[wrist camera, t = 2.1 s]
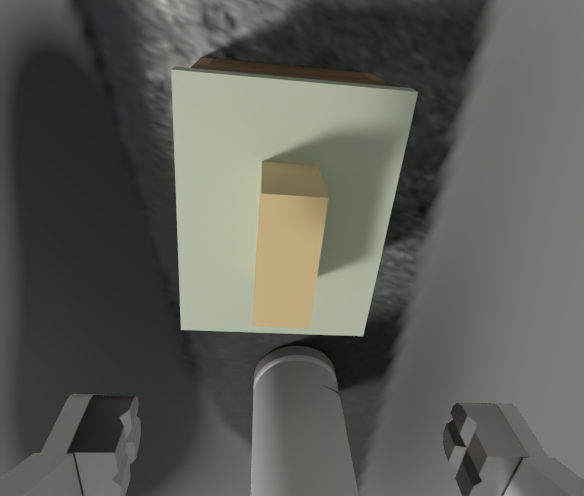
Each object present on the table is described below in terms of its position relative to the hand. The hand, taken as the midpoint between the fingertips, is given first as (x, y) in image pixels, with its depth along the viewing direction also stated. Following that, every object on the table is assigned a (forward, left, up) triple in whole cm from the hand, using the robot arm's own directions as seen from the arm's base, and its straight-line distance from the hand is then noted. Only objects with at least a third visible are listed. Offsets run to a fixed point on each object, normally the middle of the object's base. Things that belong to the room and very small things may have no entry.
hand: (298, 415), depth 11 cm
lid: (0, 0, -11) cm, 11 cm away
